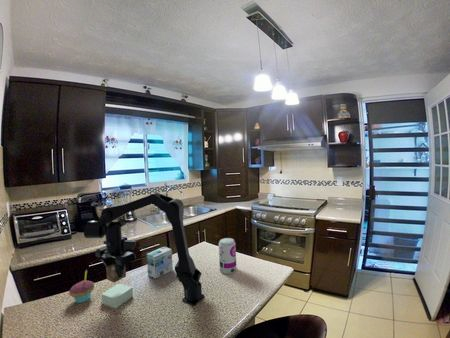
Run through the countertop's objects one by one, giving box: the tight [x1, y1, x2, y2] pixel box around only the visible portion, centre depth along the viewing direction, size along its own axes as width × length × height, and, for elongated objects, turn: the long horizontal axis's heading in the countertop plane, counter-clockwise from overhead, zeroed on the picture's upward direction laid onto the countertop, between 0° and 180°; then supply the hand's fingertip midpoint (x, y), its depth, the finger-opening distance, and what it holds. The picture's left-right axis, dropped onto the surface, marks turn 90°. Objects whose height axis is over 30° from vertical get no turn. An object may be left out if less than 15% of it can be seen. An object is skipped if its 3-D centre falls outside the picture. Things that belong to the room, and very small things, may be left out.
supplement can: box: [218, 237, 238, 275], centre depth 106 cm, size 8×8×15 cm
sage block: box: [100, 283, 134, 309], centre depth 87 cm, size 8×8×4 cm
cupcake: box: [68, 268, 95, 304], centre depth 88 cm, size 9×8×12 cm
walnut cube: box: [105, 264, 127, 284], centre depth 86 cm, size 5×5×5 cm
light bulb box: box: [146, 246, 174, 280], centre depth 107 cm, size 11×7×11 cm, turn 143°
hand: (116, 275), depth 87 cm, fingers closed on walnut cube, 5 cm apart
